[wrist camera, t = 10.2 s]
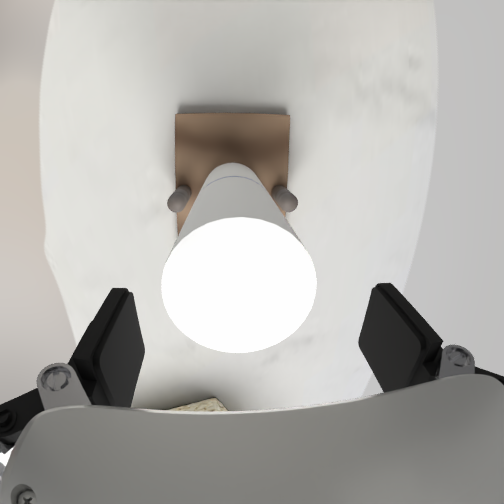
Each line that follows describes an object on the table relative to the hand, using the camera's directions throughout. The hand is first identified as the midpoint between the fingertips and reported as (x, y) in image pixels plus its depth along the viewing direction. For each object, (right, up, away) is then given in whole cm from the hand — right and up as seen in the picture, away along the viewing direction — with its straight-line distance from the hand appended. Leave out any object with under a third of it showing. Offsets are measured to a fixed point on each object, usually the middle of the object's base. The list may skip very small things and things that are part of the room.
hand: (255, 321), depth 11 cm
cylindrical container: (-3, +10, +26) cm, 28 cm away
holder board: (-3, +11, +27) cm, 29 cm away
